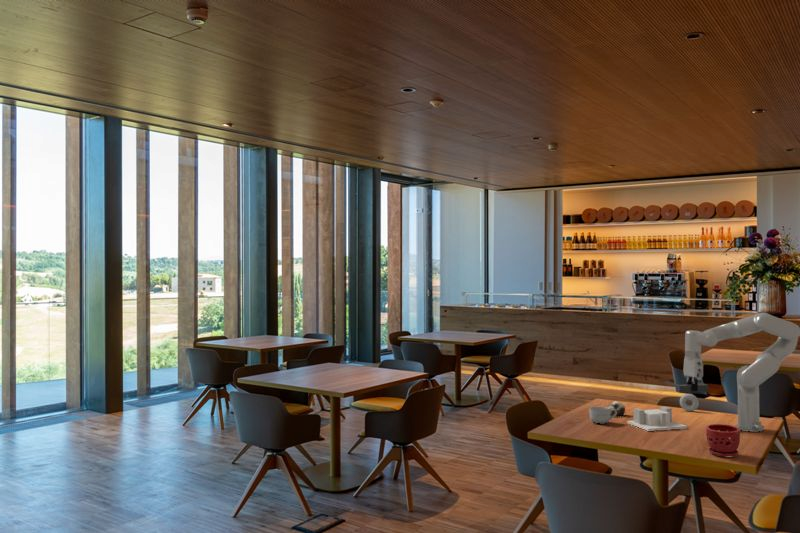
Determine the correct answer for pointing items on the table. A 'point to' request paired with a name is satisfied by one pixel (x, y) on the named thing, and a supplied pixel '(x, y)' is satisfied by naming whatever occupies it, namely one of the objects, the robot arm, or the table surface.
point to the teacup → (601, 414)
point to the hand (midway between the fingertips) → (692, 390)
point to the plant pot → (723, 439)
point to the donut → (693, 398)
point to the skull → (617, 408)
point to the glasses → (689, 387)
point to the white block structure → (655, 419)
